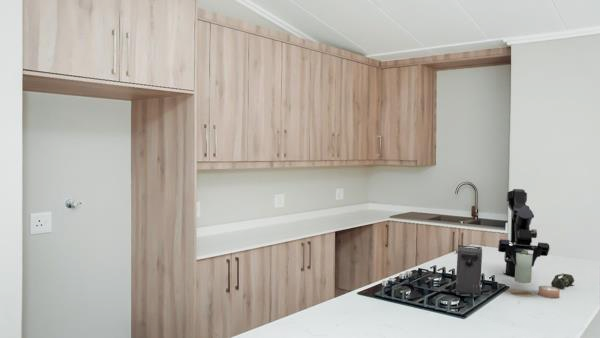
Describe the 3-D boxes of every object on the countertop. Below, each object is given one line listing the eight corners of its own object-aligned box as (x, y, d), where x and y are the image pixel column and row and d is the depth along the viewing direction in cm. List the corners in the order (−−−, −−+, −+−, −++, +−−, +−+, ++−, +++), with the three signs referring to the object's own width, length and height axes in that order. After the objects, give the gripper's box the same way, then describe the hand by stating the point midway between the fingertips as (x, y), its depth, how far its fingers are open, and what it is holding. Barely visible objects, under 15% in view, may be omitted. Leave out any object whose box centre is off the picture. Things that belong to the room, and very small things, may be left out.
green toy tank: (574, 285, 225) (559, 292, 213) (562, 282, 229) (547, 290, 216) (575, 271, 225) (560, 278, 212) (563, 269, 229) (547, 275, 216)
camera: (479, 297, 214) (481, 249, 218) (480, 298, 198) (482, 246, 202) (452, 294, 217) (454, 247, 221) (450, 295, 202) (453, 243, 206)
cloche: (511, 280, 207) (513, 250, 206) (519, 278, 210) (521, 248, 209) (525, 283, 202) (527, 253, 201) (533, 281, 205) (535, 251, 205)
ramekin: (534, 294, 206) (534, 287, 206) (544, 292, 210) (544, 284, 210) (553, 300, 200) (553, 292, 200) (563, 297, 204) (563, 289, 204)
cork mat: (504, 292, 208) (504, 291, 208) (516, 289, 213) (516, 288, 213) (525, 298, 200) (525, 297, 200) (537, 295, 206) (537, 294, 206)
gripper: (500, 219, 211) (501, 251, 201) (550, 223, 206) (553, 256, 196) (497, 235, 219) (498, 266, 209) (545, 239, 214) (548, 271, 204)
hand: (524, 265), depth 204 cm, fingers closed on cloche, 6 cm apart
